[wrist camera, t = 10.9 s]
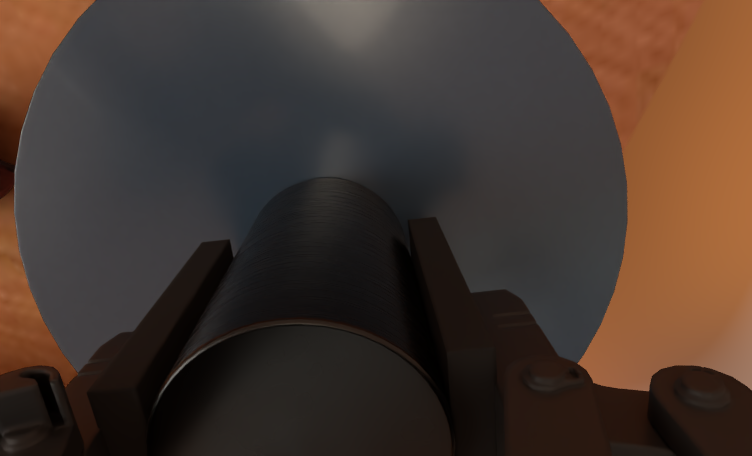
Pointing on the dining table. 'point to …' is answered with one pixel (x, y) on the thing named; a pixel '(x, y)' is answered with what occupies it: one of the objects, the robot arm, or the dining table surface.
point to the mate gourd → (6, 177)
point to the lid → (315, 202)
